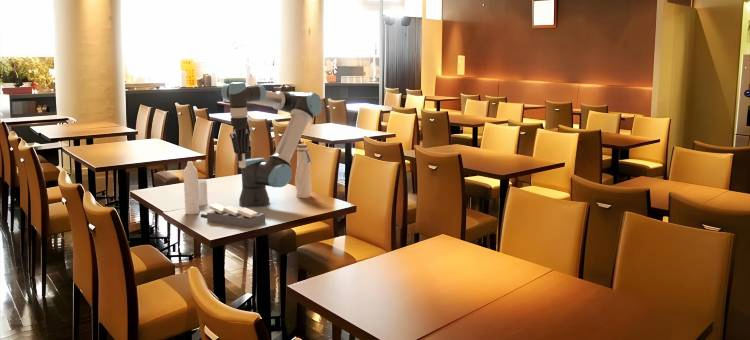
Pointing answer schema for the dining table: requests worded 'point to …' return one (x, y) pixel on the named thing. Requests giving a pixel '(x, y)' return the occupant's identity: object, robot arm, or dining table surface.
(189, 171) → the water bottle
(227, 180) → the dining table surface
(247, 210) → the rocker
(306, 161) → the water bottle
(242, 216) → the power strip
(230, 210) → the rocker
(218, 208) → the rocker
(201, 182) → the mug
